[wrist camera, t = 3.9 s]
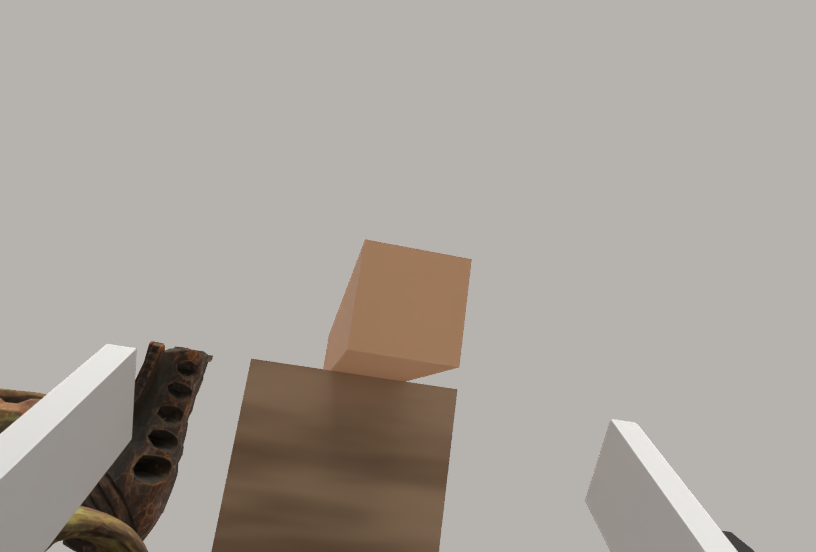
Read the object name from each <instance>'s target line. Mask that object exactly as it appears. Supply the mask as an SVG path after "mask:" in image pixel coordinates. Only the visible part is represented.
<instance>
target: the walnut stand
mask: <svg viewBox="0 0 816 552" xmlns="http://www.w3.org/2000/svg"><path fill="white" fill-rule="evenodd" d="M456 396H457V389H451V388H444V387H437V386H431V385H424V384H417V383H411V382H404V381H397V380H390V379H384V378H377V377H370V376H364V375H357V374H350V373H343V372H337V371H330V370H323V369H317V368H310V367H303V366H297V365H290V364H283V363H276V362H270V361H262V360H256V359H251V363H250V367H249V372H248V377H247V382H246V387H245V392H244V396H243V401H242V406H241V411H240V416H239V421H238V426H237V431H236V435H235V441H234V445H233V450H232V455H231V460H230V465H229V470H228V475H227V479H226V484H225V489H224V494H223V499H222V504H221V509H220V513H219V518H218V524H217V528H216V533H215V538H214V542H213V547H212V552H439V545H440V536H441V527H442V518H443V510H444V501H445V492H446V483H447V474H448V466H449V457H450V448H451V440H452V430H453V422H454V413H455V405H456Z"/></svg>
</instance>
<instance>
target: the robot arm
mask: <svg viewBox="0 0 816 552" xmlns="http://www.w3.org/2000/svg"><path fill="white" fill-rule="evenodd" d="M136 352H137V349H136V348H131V347H124V346H118V345H111V344H106V345H105V346H104V347H103V348H102V349H100V350H99V351H98V352H97V353H96V354H94V355H93V356H92V357H91V358H90V359H88V361H86V362H85V363H84V364H83V365H81V366H80V367H79V368H78V369H77V370H75V371H74V372H73V373H72V374H71V375H70V376H68V377H67V378H66V379H65V380H64V381H63V382H61V383H60V384H59V385H58V386H56V387H55V388H54V389H53V390H52V391H51V392H50V393H48V394H47V395H46V396H45V397H43V398H42V399H41V400H40V401H39V402H37V403H36V404H35V405H34V406H33V407H32V408H30V409H29V410H28V411H27V412H26V413H24V414H23V415H22V416H21V417H20V418H19V419H17V420H16V421H15V422H14V423H13V424H11V425H10V426H9V427H8V428H7V429H5V430H4V431H3V432H2V433H1V434H0V552H45V551H46V549H47V548H48V547H49V545H50V544H51V543H52V542H53V540H54V539H55V538H56V536H57V535H58V534H59V532H60V531H61V530H62V529H63V527H64V526H65V525H66V523H67V522H68V521H69V520H70V518H71V517H72V516H73V514H74V513H75V512H76V510H77V509H78V508H79V507H80V505H81V504H82V503H83V501H84V500H85V499H86V498H87V496H88V495H89V494H90V492H91V491H92V490H93V488H94V487H95V486H96V485H97V483H98V482H99V481H100V479H101V478H102V477H103V475H104V474H105V473H106V472H107V470H108V469H109V468H110V466H111V465H112V464H113V463H114V461H115V460H116V459H117V457H118V456H119V455H120V453H121V452H122V451H123V450H124V448H125V447H126V446H127V444H128V443H129V442H130V441H131V439H132V426H133V407H134V389H135V371H136ZM585 502H586V504H587V506H588V508H589V510H590V512H591V514H592V516H593V518H594V520H595V521H596V524H597V525H598V528H599V530H600V532H601V534H602V536H603V537H604V540H605V541H606V544H607V545H608V548H609V550H610V552H754V551H753V550H752V549H751V548H750V547H748V546H747V545H746V544H745V543H744V542H742V541H741V540H740V539H739V538H737V537H736V536H735V535H734V534H732V533H731V532H726V531H721V530H720V528H719V527H718V526H717V525H716V523H715V522H714V521H713V520H712V518H711V517H710V516H709V514H708V513H707V512H706V511H705V509H704V508H703V507H702V506H701V504H699V502H698V500H697V499H696V498H695V497H694V495H693V494H692V493H691V492H690V490H689V489H688V488H687V487H686V485H685V484H684V483H683V482H682V480H681V479H680V478H679V476H678V475H677V474H676V473H675V471H674V470H673V469H672V467H671V466H670V465H669V464H668V462H666V460H665V459H664V457H663V456H662V455H661V454H660V452H659V451H658V450H657V448H656V447H655V446H654V445H653V443H652V442H651V441H650V439H649V438H648V437H647V436H646V434H645V433H644V432H643V431H642V429H641V428H640V427H639V425H638V424H637V423H634V422H628V421H621V420H614V419H611V420H610V423H609V426H608V429H607V432H606V436H605V439H604V442H603V445H602V448H601V451H600V455H599V458H598V461H597V464H596V468H595V471H594V474H593V477H592V480H591V484H590V486H589V490H588V493H587V496H586V499H585Z"/></svg>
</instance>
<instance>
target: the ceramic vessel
mask: <svg viewBox="0 0 816 552" xmlns="http://www.w3.org/2000/svg"><path fill="white" fill-rule="evenodd" d="M45 396H46V394H41V393H36V392H25V391H16V390H9V389H0V434H1V433H2V432H3V431H4V430H5V429H7V428H8V427H9V426H10V425H11V424H13V423H14V422H15V421H16V420H17V419H19V418H20V417H21V416H22V415H23V414H24V413H26V412H27V411H28V410H29V409H30V408H32V407H33V406H34V405H35V404H36V403H37V402H39V401H40V400H41V399H42V398H43V397H45ZM71 538H80V539H84V540H87V541H89V542H91V543H92V544H94V545H95V546H96V547H98V549H99V551H100V552H148V550H147V548H146V547H145V544H144V543H143V541H142V540H141V538H140V537H139V535H138V534H137V533H136V532H135V531H134V530H133V529H132V528H131V527H129V526H128V525H127V524H126V523H124V522H122V521H121V520H119V519H117V518H115V517H113V516H111V515H109V514H107V513H104V512H100V511H97V510H94V509H91V508H88V507H84V506H80V507H79V508H78V509H77V510H76V512H75V513H74V514H73V516H72V517H71V518H70V520H69V521H68V522H67V523H66V525H65V526H64V527H63V529H62V530H61V531H60V532H59V534H58V535H57V536H56V538H55V539H54V540H53V542H52V543H51V544H50V545H49V547H48V548H47V549H46V551H47V550H48V549H49V548H50V547H51V546H52V545H53V544H54V543H56V542H57V541H61V540H65V539H71Z"/></svg>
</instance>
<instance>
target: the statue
mask: <svg viewBox="0 0 816 552" xmlns="http://www.w3.org/2000/svg"><path fill="white" fill-rule="evenodd" d="M212 357H213V356H210V355H208V354H206V353H205V352H203V351H196V350H191V349H188V348H183V347H175V348H173V349H168V350H166V351H165V345H164V344H163V343H158V342H154V341H151V342H150V344H149V347H148V350H147V354H146V357H145V361H144V363H143V365H142V367H141V369H140V371H139V374H138V376H137V378H136V380H135V389H134V407H133V426H132V439H131V441H130V442H129V443H128V444H127V446H126V447H125V448H124V450H123V451H122V452H121V453H120V455H119V456H118V457H117V459H116V460H115V461H114V463H113V464H112V465H111V466H110V468H109V469H108V470H107V472H106V473H105V474H104V475H103V477H102V478H101V479H100V481H99V482H98V483H97V485H96V486H95V487H94V488H93V490H92V491H91V492H90V494H89V495H88V496H87V498H86V499H85V500H84V501H83V503H82V504H81V505H80V506H84V507H88V508H91V509H94V510H97V511H100V512H104V513H107V514H109V515H111V516H113V517H115V518H117V519H119V520H121V521H122V522H124V523H126V524H127V525H128V526H129V527H131V528H132V529H133V530H134V531H135V532H136V533H137V534H138V535H139V537H140V538H141V540H142V541H143V540H144V539H145V538H146V537H147V535H148V534H149V533H150V531H151V530H152V529H153V527H154V526H155V524H156V522H157V521H158V519H159V517H160V516H161V514H162V513H163V511H164V509H165V506H166V504H167V501H168V499H169V496H170V494H171V491H172V489H173V486H174V483H175V480H176V477H177V473H178V462H179V460H180V458H181V456H182V454H183V448H184V447H183V443H184V440H185V436H186V431H187V426H188V422H187V421H188V418H189V415H190V414H191V412H192V409H193V406H194V401H195V398H196V395H197V393H198V391H199V388H200V386H201V383H202V381H203V375H204V373H205V370H206V367H207V364H208V362H210V361H211V360H212ZM63 544H64V545H66V546H67V547H69V548H70V549H72V550H74V551H76V552H100V551H99V549H98V547H96V546H95V545H94V544H92V543H91V542H89V541H87V540H84V539H80V538H71V539H65V540H63Z"/></svg>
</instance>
